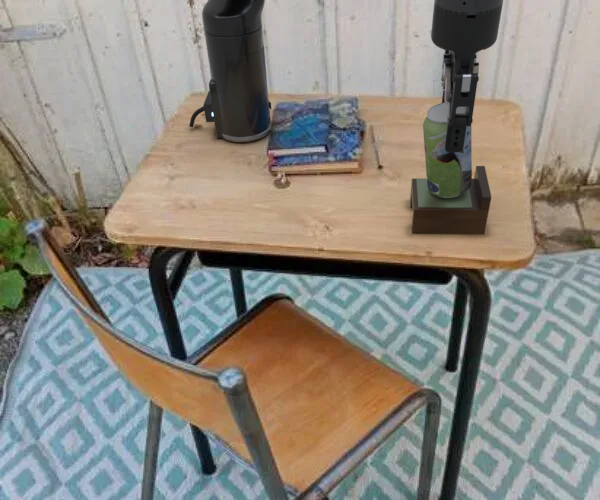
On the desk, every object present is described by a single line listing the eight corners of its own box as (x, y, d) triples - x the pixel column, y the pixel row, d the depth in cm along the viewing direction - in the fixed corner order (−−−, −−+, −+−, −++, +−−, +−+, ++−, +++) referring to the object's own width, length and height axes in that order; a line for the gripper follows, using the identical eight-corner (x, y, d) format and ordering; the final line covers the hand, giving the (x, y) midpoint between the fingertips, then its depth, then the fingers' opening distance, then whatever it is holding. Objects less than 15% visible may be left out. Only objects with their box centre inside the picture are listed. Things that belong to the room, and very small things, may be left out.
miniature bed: (411, 234, 91) (415, 196, 86) (409, 202, 96) (413, 165, 92) (484, 234, 90) (491, 197, 86) (478, 202, 95) (484, 165, 91)
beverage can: (477, 197, 89) (492, 113, 80) (428, 208, 88) (437, 124, 79) (457, 175, 93) (469, 92, 84) (410, 185, 92) (417, 102, 83)
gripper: (431, -23, 77) (419, 109, 89) (438, 21, 67) (424, 162, 79) (495, -25, 76) (474, 108, 88) (512, 20, 67) (486, 162, 79)
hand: (450, 134), depth 84 cm, fingers open, 8 cm apart
